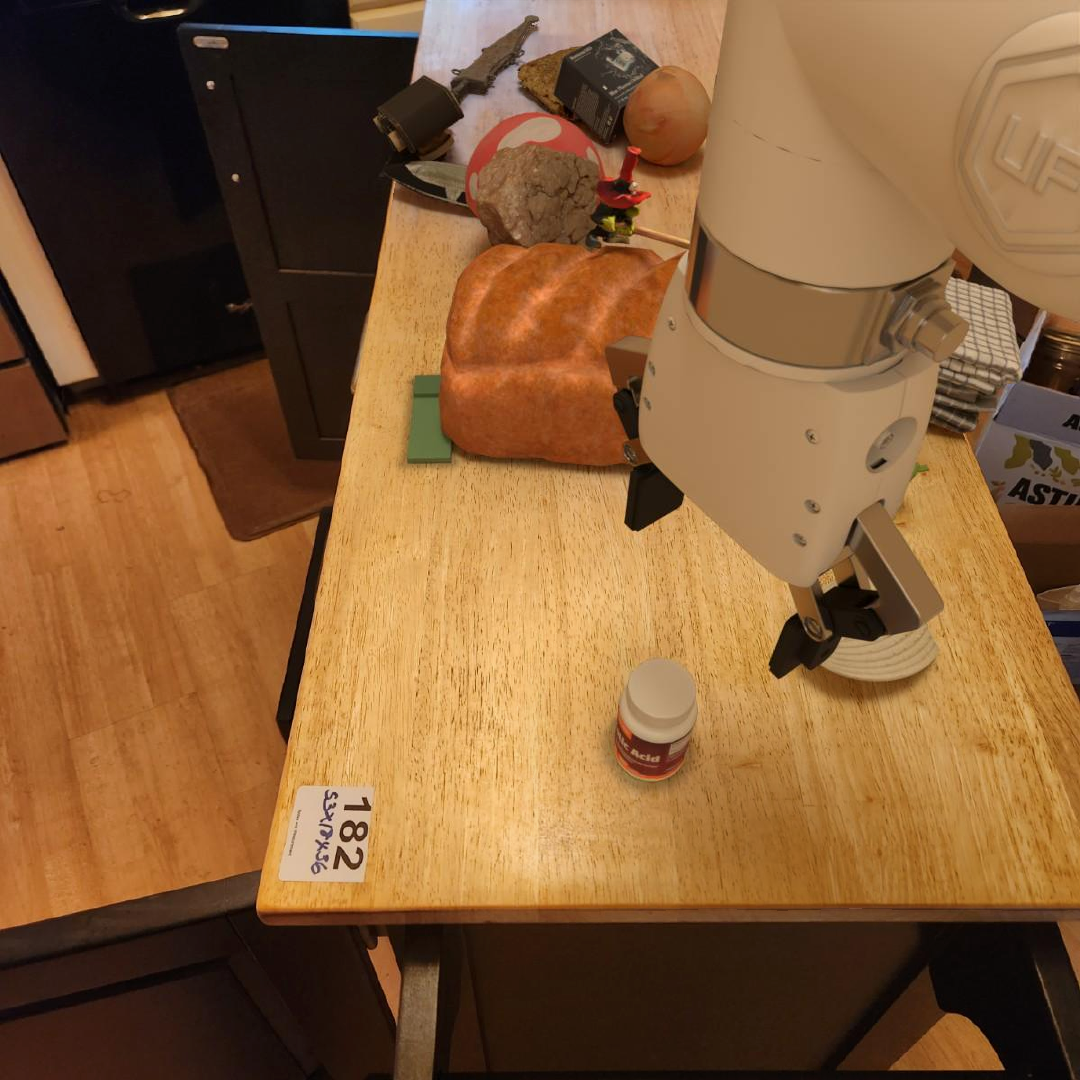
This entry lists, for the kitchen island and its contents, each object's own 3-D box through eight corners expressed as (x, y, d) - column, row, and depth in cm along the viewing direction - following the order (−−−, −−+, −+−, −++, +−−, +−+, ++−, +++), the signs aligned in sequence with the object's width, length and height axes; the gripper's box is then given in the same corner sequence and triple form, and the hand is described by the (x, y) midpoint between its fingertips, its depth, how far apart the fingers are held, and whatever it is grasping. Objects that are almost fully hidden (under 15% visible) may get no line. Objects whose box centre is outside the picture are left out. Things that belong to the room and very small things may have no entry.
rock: (458, 270, 73) (504, 269, 70) (465, 128, 71) (512, 120, 68) (559, 288, 83) (603, 288, 80) (568, 164, 81) (613, 159, 78)
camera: (450, 122, 110) (396, 159, 110) (420, 69, 106) (364, 108, 106) (481, 143, 96) (419, 186, 97) (448, 84, 92) (383, 129, 93)
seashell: (774, 576, 65) (883, 530, 62) (820, 660, 68) (925, 620, 66) (792, 643, 58) (915, 594, 55) (842, 733, 61) (961, 691, 59)
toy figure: (643, 302, 71) (718, 245, 68) (640, 317, 68) (718, 259, 65) (562, 199, 68) (636, 135, 64) (555, 211, 65) (633, 144, 61)
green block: (451, 462, 75) (450, 453, 74) (407, 463, 75) (406, 454, 74) (456, 381, 81) (455, 372, 80) (416, 382, 81) (415, 372, 80)
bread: (753, 488, 73) (794, 335, 61) (431, 459, 75) (409, 307, 63) (750, 373, 81) (786, 219, 69) (462, 351, 84) (447, 198, 71)
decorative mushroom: (514, 323, 86) (509, 176, 74) (447, 254, 93) (432, 110, 81) (628, 277, 90) (640, 131, 79) (555, 214, 97) (556, 72, 86)
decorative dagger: (558, 7, 124) (460, 111, 107) (559, 26, 125) (463, 131, 109) (510, 4, 126) (407, 104, 109) (512, 22, 128) (411, 124, 111)
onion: (711, 181, 101) (724, 91, 93) (622, 181, 101) (628, 91, 94) (703, 137, 107) (715, 49, 99) (619, 137, 107) (625, 49, 100)
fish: (378, 198, 99) (373, 182, 96) (407, 128, 100) (403, 109, 97) (576, 269, 99) (577, 255, 95) (603, 198, 100) (606, 182, 96)
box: (620, 107, 101) (561, 55, 102) (607, 146, 106) (551, 96, 107) (673, 75, 105) (615, 25, 106) (658, 114, 110) (603, 66, 111)
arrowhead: (456, 147, 105) (398, 184, 100) (456, 153, 106) (398, 190, 101) (415, 130, 108) (356, 165, 103) (416, 136, 108) (357, 172, 103)
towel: (805, 306, 71) (771, 387, 76) (1037, 373, 69) (985, 451, 75) (815, 227, 82) (785, 303, 87) (1016, 284, 80) (972, 357, 86)
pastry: (500, 114, 111) (499, 89, 109) (533, 52, 122) (532, 28, 119) (639, 129, 109) (641, 104, 106) (660, 64, 119) (662, 40, 117)
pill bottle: (598, 751, 59) (604, 688, 52) (643, 703, 61) (655, 637, 55) (655, 798, 57) (669, 739, 50) (700, 747, 59) (719, 684, 53)
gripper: (1136, 372, 25) (924, 677, 38) (711, 113, 33) (661, 437, 47) (959, 493, 22) (799, 774, 36) (547, 178, 31) (544, 501, 44)
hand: (721, 582), depth 41 cm, fingers open, 9 cm apart
